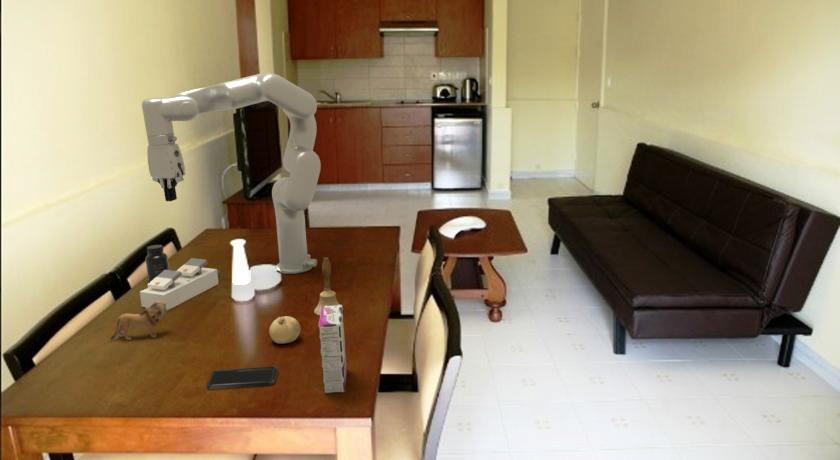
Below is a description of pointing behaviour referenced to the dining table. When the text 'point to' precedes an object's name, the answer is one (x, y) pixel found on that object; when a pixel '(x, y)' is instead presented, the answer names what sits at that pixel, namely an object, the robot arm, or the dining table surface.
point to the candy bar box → (332, 348)
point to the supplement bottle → (156, 261)
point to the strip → (181, 289)
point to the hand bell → (326, 289)
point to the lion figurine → (142, 319)
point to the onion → (284, 329)
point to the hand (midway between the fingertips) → (171, 200)
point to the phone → (242, 378)
